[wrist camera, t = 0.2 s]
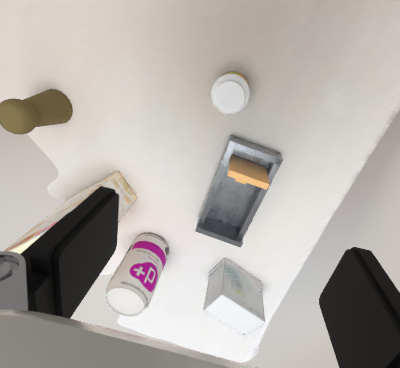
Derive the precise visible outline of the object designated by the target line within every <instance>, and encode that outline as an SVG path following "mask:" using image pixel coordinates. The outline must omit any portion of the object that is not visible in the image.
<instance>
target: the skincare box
mask: <svg viewBox="0 0 400 368" xmlns="http://www.w3.org/2000/svg"><path fill="white" fill-rule="evenodd" d="M203 311H204V312H206V313H207V314H209V315H211V316H212V317H214V318H215V319H217V320H218V321H220V322H222V323H223V324H225V325H226V326H228V327H230V328H231V329H233V330H234V331H236V332H237V333H239V334H241V335H242V336H244V337H246V336H248V335H249V334H250V333H252V332H253V331H255V330H256V329H257V328H259V327H260V326H261V325H263V324H264V323H265V317H264V307H263V295H262V284H261V281H259V280H258V279H256V278H255V277H253V276H252V275H250V274H249V273H247V272H246V271H244V270H243V269H241V268H240V267H238V266H237V265H236V264H234V263H233V262H231V261H230V260H228V259H227V258H224V259H223V260H222V261H221V262H220V263H219V264H218V265H217V266H216V267H215V268H213V269H212V270H211V271H210V272H209V279H208V286H207V292H206V298H205V304H204V310H203Z"/></svg>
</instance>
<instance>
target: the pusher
mask: <svg viewBox="0 0 400 368" xmlns="http://www.w3.org/2000/svg"><path fill="white" fill-rule="evenodd" d="M227 176H229V177H232V178H235V181H237V182H240V183H243V184H246V183H249V184H252V185H254V186H257V187H260V188H263V189H265V190H267V189H268V187H269V185H270V184H269V179H268V174H267V170H266V167H264V166H261V165H258V164H256V163H253V162H250V161H247V160H245V159H242V158H239V157H236V156H233V155H231V158H230V161H229V168H228V175H227Z"/></svg>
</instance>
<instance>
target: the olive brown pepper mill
mask: <svg viewBox="0 0 400 368" xmlns="http://www.w3.org/2000/svg"><path fill="white" fill-rule="evenodd" d="M72 111H73V110H72V105H71V103H70V100H69V99H68V98H67V96H66V95H65V94H63V93H62V92H60V91H58V90H54V89H51V90H47V91H45V92H42V93H40V94H37V95H34V96H32V97H29V98H27V99H24V100H20V99H8V100H4V101H3V102H1V103H0V124H1V125H2V127H3V128H4V129H6V130H7V131H9V132H11V133H14V134H25V133H29V132H31V131H32V130H33V129H34V128H35V127H40V126H47V125H54V124H61V123H66V122H67V121H69V120H70V118H71V116H72Z"/></svg>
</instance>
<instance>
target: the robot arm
mask: <svg viewBox="0 0 400 368" xmlns="http://www.w3.org/2000/svg"><path fill="white" fill-rule="evenodd" d="M118 212H119V194H117V193H116V191H115V189H112V188H107V187H103V186H100V187H99V188H97V189H96V190H95V191H94V192H93V193H92V194H91V195H89V196H88V197H87V198H86V199H85V200H84V201H82V202H81V203H80V204H79V205H78V206H77V207H76V208H74V209H73V210H72V211H71V212H69V213H67V214H66V215H65V216H64V217H62V218H61V219H60V220H59V221H58V222H57V223H56V224H54V225H53V226H52V227H51V228H50V229H49V230H47V231H46V232H45V233H44V234H43V235H42V236H40V237H39V238H38V239H37V240H36V241H35V242H34V243H32V244H31V245H30V246H29V247H28V248H27V249H25V250H24V251H23V252H22V253H21V254H19V253H16V252H10V251H2V252H0V368H256V367H252V366H249V365H245V364H241V363H238V362H234V361H230V360H227V359H223V358H219V357H215V356H212V355H208V354H204V353H200V352H197V351H193V350H189V349H186V348H182V347H178V346H174V345H170V344H167V343H163V342H159V341H155V340H151V339H148V338H144V337H140V336H136V335H132V334H129V333H125V332H121V331H117V330H113V329H110V328H105V327H102V326H97V325H93V324H89V323H85V322H81V321H77V320H73V319H70V318H71V316H72V315H73V313H74V312H75V310H76V308H77V307H78V306H79V304H80V303H81V301H82V300H83V298H84V297H85V295H86V294H87V292H88V291H89V289H90V288H91V286H92V284H93V283H94V282H95V280H96V279H97V277H98V276H99V274H100V273H101V271H102V270H103V268H104V267H105V265H106V264H107V263H108V261H109V260H110V258H111V257H112V255H113V254H114V252H115V250H116V246H117V232H118ZM319 305H320V308H321V311H322V314H323V317H324V321H325V323H326V327H327V330H328V333H329V336H330V340H331V343H332V346H333V349H334V352H335V355H336V358H337V362H338V365H339V367H340V368H400V293H399V291H398V290H397V288H396V287H395V285H394V284H393V282H392V281H391V279H390V278H389V277H388V275H387V274H386V272H385V271H384V269H383V268H382V266H381V265H380V263H379V262H378V260H377V259H376V257H375V256H374V255H373V253H372V252H371V251H369V250H365V249H361V248H357V247H353V248H351V249H350V250H349V249H348V250H346V251H345V253H344V255H343V256H342V258H341V260H340V262H339V264H338V265H337V267H336V269H335V271H334V272H333V274H332V276H331V278H330V279H329V281H328V283H327V285H326V286H325V288H324V290H323V292H322V294H321V295H320V298H319Z"/></svg>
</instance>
